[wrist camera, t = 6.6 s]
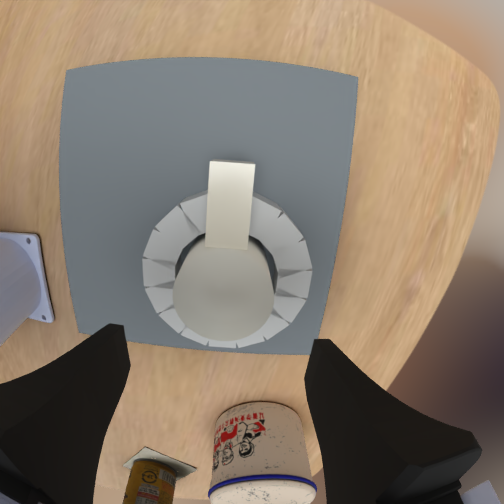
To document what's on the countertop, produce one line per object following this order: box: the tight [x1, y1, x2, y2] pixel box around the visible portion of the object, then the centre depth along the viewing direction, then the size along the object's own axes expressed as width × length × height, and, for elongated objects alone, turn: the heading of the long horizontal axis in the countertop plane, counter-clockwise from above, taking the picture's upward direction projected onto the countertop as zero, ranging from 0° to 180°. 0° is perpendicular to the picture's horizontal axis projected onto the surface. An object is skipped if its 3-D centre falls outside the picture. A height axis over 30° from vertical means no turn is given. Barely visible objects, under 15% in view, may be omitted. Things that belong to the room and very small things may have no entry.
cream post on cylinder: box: [172, 159, 274, 341], centre depth 16 cm, size 9×5×5 cm, turn 175°
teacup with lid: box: [208, 402, 317, 504], centre depth 21 cm, size 12×9×12 cm
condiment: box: [123, 447, 197, 504], centre depth 24 cm, size 7×8×12 cm
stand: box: [59, 57, 358, 355], centre depth 18 cm, size 19×20×3 cm
